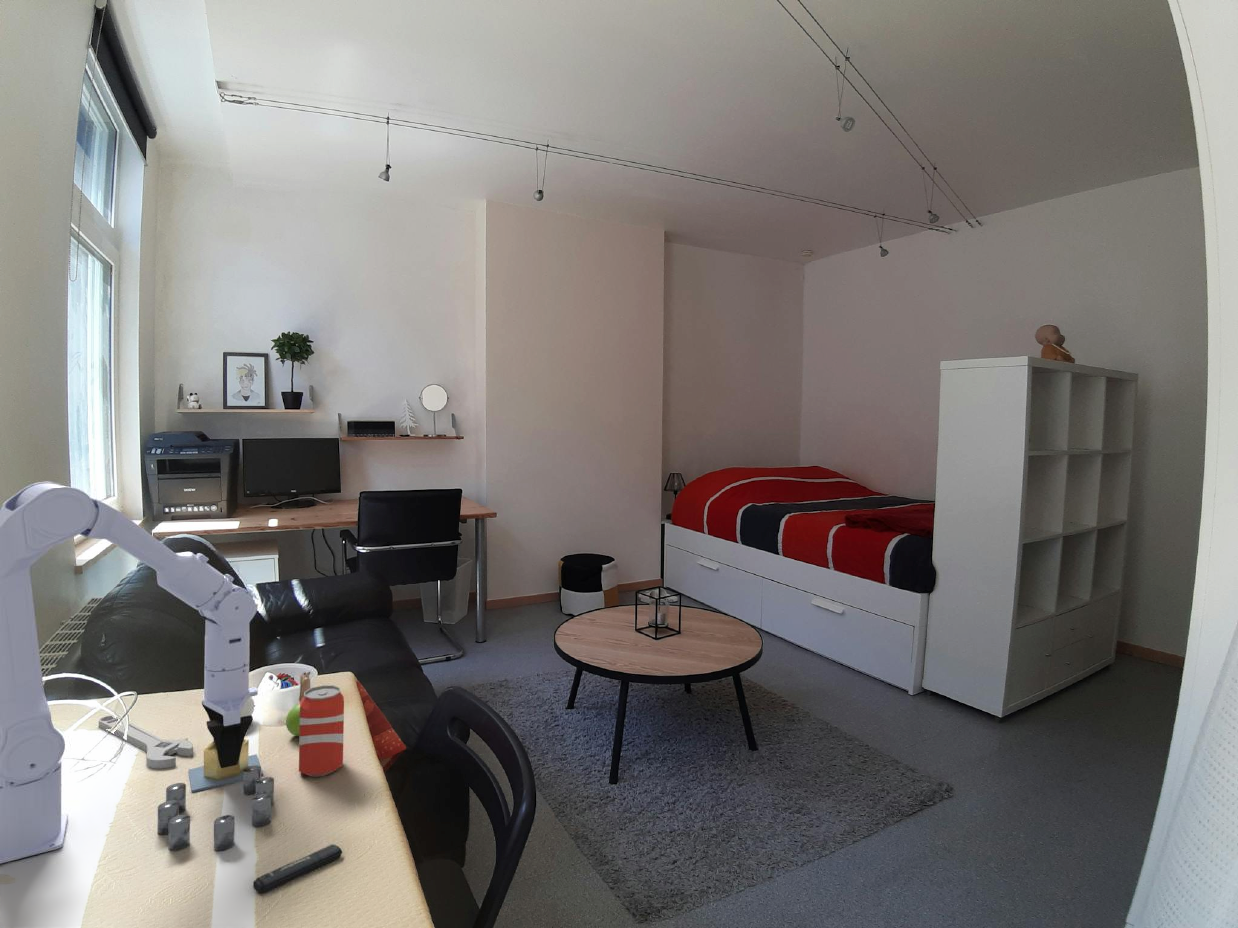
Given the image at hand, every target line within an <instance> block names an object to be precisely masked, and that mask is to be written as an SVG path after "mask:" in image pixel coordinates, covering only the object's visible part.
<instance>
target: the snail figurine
mask: <svg viewBox="0 0 1238 928" xmlns="http://www.w3.org/2000/svg"><path fill="white" fill-rule="evenodd" d="M311 673H312V672H311V671H308V670H307V672H306V671H304V672H302V674H301V675H300V679H299V680H300V681H299V683H300V685H299V687H300V689H299V698H298V701H299V703H298V704H296V705H294V706H293V707H292V708H291V709H290V710H289V712H288V713H287V715H286V719H285V727H286V729H287V731H288V732H289V733H290V734H291V735H293V736H295V737H299V732H300V702H301V700H302V699H303V697H304V692H305V691H307V690H309V689H310V688H311V679H310V675H311Z"/></svg>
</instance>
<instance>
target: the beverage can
mask: <svg viewBox="0 0 1238 928" xmlns="http://www.w3.org/2000/svg"><path fill="white" fill-rule="evenodd" d="M299 704H300V732H299V736H298V737H299V740H298V743H299V745H298V747H299V748H298V750H299V751H298V772H301V773H302V774H305V775H306V776H309V777H324V776H326V775H329V774H332V773H333V772H335V771H337V769H339V768H340V767H341V766H342V765H344V724H345V723H344V721H345V720H344V719H345V718H344V717H345V697H344V695H343V694H342V692H341V687H339V686H336V685H329V684H328V685H318V686H314V687H310V689H309V690H307V691H305V692H304V697H303V699H302V700H301V702H299Z"/></svg>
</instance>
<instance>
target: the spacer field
mask: <svg viewBox="0 0 1238 928" xmlns="http://www.w3.org/2000/svg"><path fill="white" fill-rule="evenodd" d="M261 768H262V766H261V767H260V766H258V765H253V766H249V767H247V768H245V769H244V770H243V780H242V793H243V795H244V796H252V795H255V796H254V797H252V800H251V825H252V827H254V828H261V827H264V826H265V827H266V826H267V825H268V824H270V823H271V820H272V805H273V804H274V802H275V801H274V800H275V798H274V797H275V792H274V791H275V778H274V777H271V776H264V777H262V776H261ZM186 789H187V784H186V783H185V782H176V783H173V784H170V785H168V786H167V787H166V788H165V801H164V802H162V803H160V804H159V805H158V806H157V834H158V835H161V836H163V835H164V836H165V835H168V836H167V837H168V838H167V839H168V841H167V842H168V843H167V845H168V850H169V851H173V852H175V851H180V850H182V849H185V848H187V847H189V845H190V842H191V840H190V839H191V815H189V814H181V813H183V812H185V810H186V807H187V805H186V800H187V799H186V798H187V797H186V796H187V795H186V794H187V790H186ZM179 814H180V815H179ZM235 823H236V822H235V816H234V815H231V814H225V815H222V816H219V817H218V818H215V820H214V821H213V850H214V851H216V852H222V851H226V850H229V849H231V848H233V846H234V845H235V826H236V825H235Z"/></svg>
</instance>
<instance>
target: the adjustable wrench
mask: <svg viewBox="0 0 1238 928" xmlns="http://www.w3.org/2000/svg"><path fill="white" fill-rule="evenodd" d="M111 715H112V714H111ZM111 715H106V716H103V717H101V718H99V719H98V727H99V728H101V729H103V730H104V731H106V729H111V728H112V727H113V726H114V725H115V724H116V723H117V721H118V719H121V718H122V717H120V716H119V715H116V716H117V717H116V718H113V717H112V716H111ZM128 722H129V730H128V733H127V741H126V742H128V743H130V744H132V745H134V746H136V747H137V748H140V749H141V750H143V751H145V753H146V757H145V762H146V766H147V767H148V768H152V769H165V768H166V769H167V768H171V767H175V766H177V756H183V757H191V756H192V757H193V754H194V743H193V742H192V741H191V740H188V737H187V738H180V739H165V738H160V737H158V736H156V735H155V734H153V733H150V732H148V731H147V730H145V729H143V728H141V727H140V726H137V725H135V724H133V723H131V722H130V721H128ZM113 735H114V736H116V737H118V738H119V739H122V740H124V739H123V736H124V725H123V724H122V725H121V726H120V728H118V729H117V730H116V731H115V732H114V734H113ZM174 754H177V756H173V755H174Z"/></svg>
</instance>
